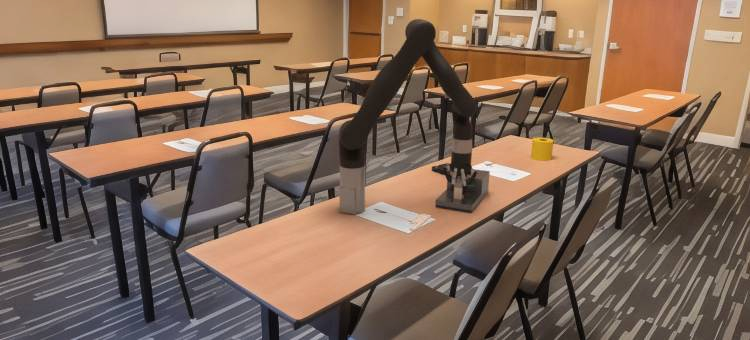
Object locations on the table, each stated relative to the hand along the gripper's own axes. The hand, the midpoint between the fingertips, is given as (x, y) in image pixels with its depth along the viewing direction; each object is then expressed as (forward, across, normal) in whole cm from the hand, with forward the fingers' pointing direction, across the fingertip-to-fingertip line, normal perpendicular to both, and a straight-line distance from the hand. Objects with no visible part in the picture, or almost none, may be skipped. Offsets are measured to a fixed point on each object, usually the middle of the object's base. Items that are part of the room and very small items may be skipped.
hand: (459, 193), depth 208 cm
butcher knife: (+5, -8, -24) cm, 26 cm away
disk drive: (+5, -15, +38) cm, 41 cm away
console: (+4, 0, +7) cm, 8 cm away
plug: (+3, 0, 0) cm, 3 cm away
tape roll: (+5, +19, +83) cm, 85 cm away
